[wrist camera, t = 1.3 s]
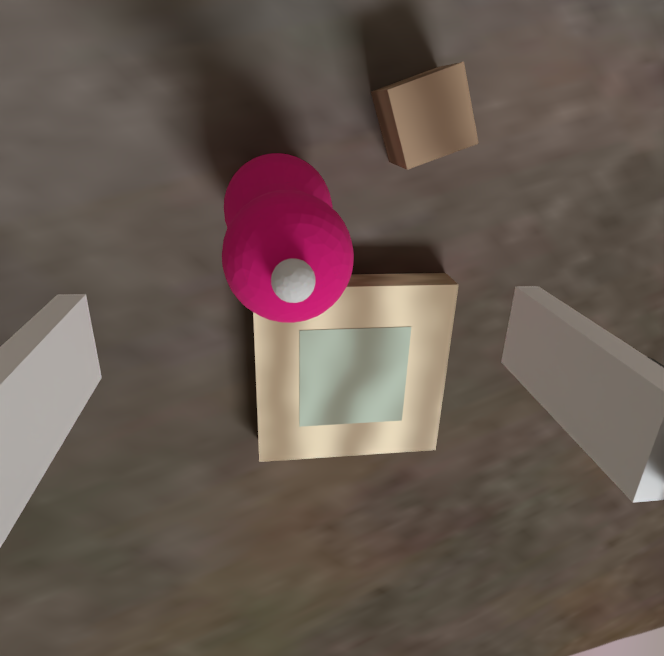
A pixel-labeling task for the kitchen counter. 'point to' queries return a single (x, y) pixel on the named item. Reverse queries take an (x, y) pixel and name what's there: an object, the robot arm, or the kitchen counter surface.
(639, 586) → the kitchen counter surface
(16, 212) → the kitchen counter surface
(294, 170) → the pepper mill
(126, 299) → the kitchen counter surface
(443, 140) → the block
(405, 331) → the base plate
